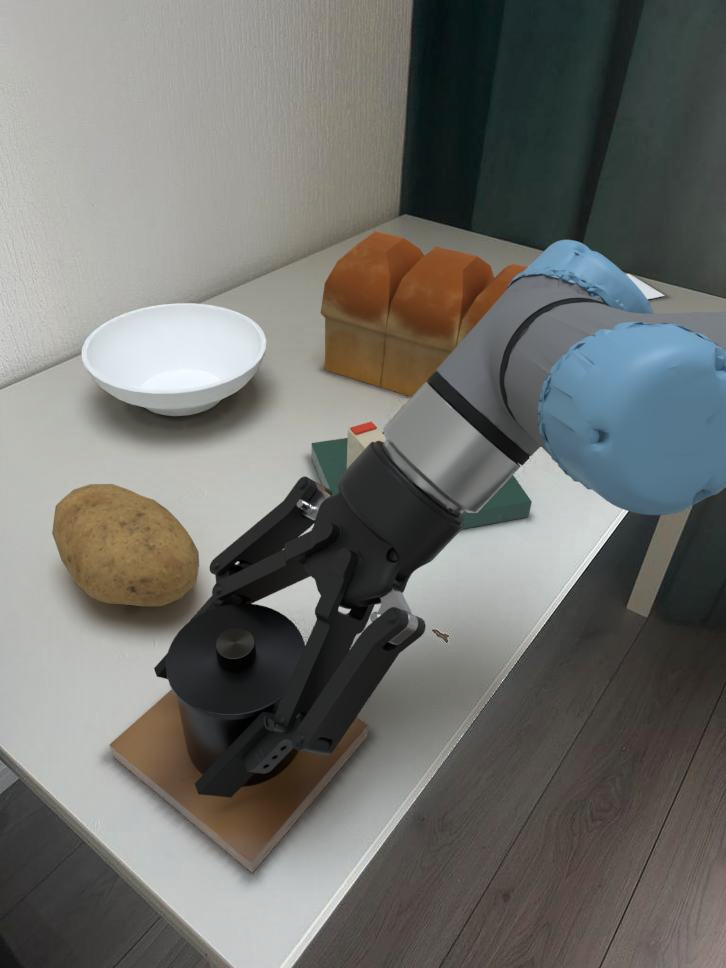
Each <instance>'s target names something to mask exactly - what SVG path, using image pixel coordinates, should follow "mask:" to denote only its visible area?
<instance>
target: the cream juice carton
mask: <svg viewBox="0 0 726 968" xmlns="http://www.w3.org/2000/svg"><path fill="white" fill-rule="evenodd" d="M383 433H384V432H382V431H381V430H380V429H379V428H378V426H377V425H376V424H375V423H374V422H373V421H368V422H363V423H361V424H357V425H355V426H351V427H350V428H348V429H347V438H348V442H347V468H348V467H349V466H350V465H351V464H352V463H353V462H354V461H355V459H356V458H357V457H358V456H359V455H360V454H361V453H362V452H363V451H364V449H365V448H366V447H367V446H368V445H369V444H370V443H371V442H376V441H382V442H385V441H386V438H385V436H384V434H383Z"/></svg>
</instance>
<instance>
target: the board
mask: <svg viewBox="0 0 726 968" xmlns="http://www.w3.org/2000/svg"><path fill="white" fill-rule="evenodd" d="M368 727H369V725H368V724H367V723H366V722H364V721H362V720H361V719H360V718H358V716H357V717H356V718H355V720H354V721H353V723H352V724H351V726H350V727H349V729H348V730H347V732H346V733H345V735H344V736H343V738H342V739H341V741H340V742H339V743H338V745H337V746H336V748H335V749H334V751H333V752H332V753H331V754H330V755H322V754H316V753H310V752H304V751H298V753H297V755H296V756H295V758H294V759H293V761H292V762H291V763H290V764H289V765H288V767H287V768H285V769H284V770H283V771H282V772H281V773H279V774H278V775H276V776H275V777H273V778H271V779H269V780H268V781H265V782H262V783H260V784H256V785H252V786H244V787H241V788H240V789H239V790H238V791H237V792H236V793H235V794H234V795H233V796H232V797H231V798H230V797H220V796H210V795H200V794H198V792H197V789H196V786H195V783H196V782H197V781H198V779H199V778H200V777H201V776H202V775H203V774H202V773H201V772H200V771H199V770H198V769H197V768H196V767H195V766H194V764H193V763H192V761H191V759H190V757H189V754H188V750H187V746H186V741H185V736H184V731H183V726H182V721H181V716H180V711H179V706H178V701H177V697H176V695H175V694H174V692H173V691H172V689H170V690H169V691H168V692H166V694H164V696H163V697H161V698H159V700H158V701H157V702H156V703H154V704H153V705H152V706H151V707H150V708H149V709H148V710H146V711H145V712H144V713H143V714H142V715H141V716H140V717H138V718H137V719H136V720H135V721H134V722H133V723H132V724H131V725H130V726H129V727H127V728H125V730H124V731H123V732H121V734H119V735H118V736H117V737H116V738H115V739H114V740H112V742H110V743H109V748H110V751H111V754H112V757H113V758H114V759H115V760H117V762H119V763H120V764H121V765H122V766H123V767H125V768H126V769H127V770H129V771H130V772H131V773H132V774H133V775H134V776H136V778H138V779H139V780H140V781H141V782H142V783H144V784H145V785H146V786H147V787H149V788H150V789H151V790H152V791H153V792H155V793H156V794H157V795H158V796H160V798H161V799H163V800H164V801H165V802H166V803H167V804H169V805H170V806H171V807H173V808H174V809H175V811H177V812H178V813H179V814H181V815H182V816H183V817H184V818H186V819H187V820H188V821H189V822H190V823H191V824H192V825H194V826H195V827H196V828H197V829H199V831H201V832H202V833H203V834H204V835H206V836H207V837H208V838H210V839H211V840H212V841H213V842H214V843H215V844H216V845H218V846H219V847H220V848H221V849H223V850H224V851H225V852H226V853H227V854H229V856H231V857H232V858H233V859H234V860H236V861H237V863H240V865H242V866H243V868H245V869H246V870H248V871H249V872H250V873H251V874H254V873H255V871H256V870H257V869H258V868H259V866H260V865H261V864H262V863H263V861H264V860H265V859H266V858H267V857H268V856H269V854H270V853H271V852H272V851H273V850H274V848H275V847H276V846H277V845H278V844H279V842H280V841H281V840H282V839H283V838H284V837H285V835H286V834H287V833H288V832H289V830H290V829H291V828H293V826H294V825H295V823H296V822H297V821H298V820H299V818H300V817H301V816H302V815H303V814H304V813H305V812H306V810H307V809H308V808H310V805H311V804H313V802H314V801H315V800H316V799H317V797H318V796H319V795H320V794H321V792H322V791H323V790H324V789H325V788H326V786H328V784H329V783H330V782H331V781H332V779H333V778H334V777H335V776H336V774H337V773H338V772H339V771H340V770H341V769H342V767H343V766H344V765H345V764H346V763H347V761H348V760H349V759H350V757H352V756H353V754H354V753H355V752H356V750H357V749H358V748H359V747H360V746H361V745H362V744H363V742H364V741H366V739H367V737H368Z"/></svg>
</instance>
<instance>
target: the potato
mask: <svg viewBox="0 0 726 968" xmlns="http://www.w3.org/2000/svg"><path fill="white" fill-rule="evenodd" d="M51 534H52V537H53V540H54V542H55V545H56V548H57V551H58V555H59V558H60V560H61V562H62V564H63V566H64V567H65V568H66V570H67V571H68V573H69V574H70V576H71V577H72V579H73V580H74V582H75V583H76V584H77V586H78V587H79V588H81V590H83V591H84V592H85V594H87V595H88V596H89V597H90V598H91V599H93V600H96V601H99V602H102V603H104V604H111V605H112V604H113V605H128V606H137V607H164V606H166V605H169V604H171V603H173V602H175V601H178V600H179V599H182V598H183V597H184V596H185V595H186V594H187V593H188V592H189V591H190V590H191V589H192V588H193V587H194V586H195V585H196V584H197V581H198V576H199V568H200V555H199V554H200V553H199V550H198V548H197V546H196V545H195V543H194V541H193V540H194V539H193V538H192V537H191V535H190V534H189V532H188V531H187V529H186V528H185V527H184V525H183V524H182V523H181V522H180V520H178V518H177V517H176V516H175V515H174V514H173V513H172V512H171V511H170V510H169V509H167V508H166V507H165V506H163V505H161V503H160V502H158V501H156V500H155V499H152V498H150V497H147V496H143V495H141V494H139V493H136V492H135V491H133V490H131V489H128V488H125V487H123V486H119V485H117V484H114V483H93V484H91V483H90V484H87V485H84V486H81V487H78V488H75V489H73V490H71V491H70V492H69V493H68V494H67V495H65V496H64V497H63V498H62V499H61V500H60V501H58V503H57V504H56V505H55V508H54V514H53V523H52V532H51Z"/></svg>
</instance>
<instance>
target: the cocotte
mask: <svg viewBox="0 0 726 968" xmlns="http://www.w3.org/2000/svg"><path fill="white" fill-rule="evenodd" d="M191 619H192V618H191ZM191 619H190V620H191ZM190 620H189V621H188V622H187V623H186V624H184V626H183V627H182V628H181V629H180V630H179V631H178V632H177V634H176V635H175V636H174V638H173V639H172V642H171V644H170V645H169V648H168V651H167V653H168V654H167V653H166V654H167V658H166V672H167V677H168V679H167V682H168V684H169V687H170V690H172V691H173V692H174V694H175V695H176V697H177V701H178V706H179V711H180V716H181V721H182V726H183V731H184V736H185V741H186V746H187V750H188V754H189V757H190V759H191V761H192V763H193V764H194V766H195V767H196V768H197V769H198V770H199V771H200V772H201V773H202V774H204V773H205V772H206V771H207V770H208V769H209V768H210V767H211V766H212V765H213V764H214V762H215V761H216V760H217V759H218V758H219V757H220V756H221V755H222V754H223V753H224V752H225V751H226V750H227V749H228V748H229V747H230V746H231V744H232V743H233V742H234V741H235V740H236V739H237V738H238V737H239V736H240V735H241V734H242V733H243V732H244V731H245V730H246V729H247V728H248V726H249V725H250V724H251V723H252V722H253V721H254V720H255V719H256V718H257V717H258V716H259V715H260V714H261V713H262V712H269V713H273V714H276V712H277V709H278V707H279V705H280V702H281V700H282V698H283V696H284V693H285V691H286V689H287V686H288V684H289V682H290V680H291V677H292V675H293V673H294V671H295V668H296V666H297V664H298V661H299V659H300V657H301V655H302V652H303V650H304V648H305V645H306V643H305V640H304V637H303V635H302V633H301V631H300V630H299V628H298V627H297V626H296V624H295V623H294V622H293V621H292V620H291V619H290V618H288V617H287V616H286V615H285V614H283V613H281V612H280V611H278V610H276V609H274V608H271V607H269V606H265V605H262V604H261V605H260V604H255V603H252V604H247V603H239V604H229V605H224V606H220V607H216V608H213V609H211V610H208V611H206V612H204V613H202V614H200V615H198V616H197V617H195V618H194V619H192V620H191V621H190ZM299 715H300V713H299ZM298 751H299V750H296V749H295V748H293V749H292V750H291V751H290V752H289V753H288V754H287V755H286V756H285V757H284V758H283V759H282V760H281V761H280V762H279V763H278V764H277V765H276V766H275V767H274V768H273V769H272V770H271V771H270V772H268V773H265V774H261V773H254V774H253V776H252V777H251V778H250V779H249V780H248V781H247V782H246V783H245V784H244V785H243V786H242V787H244V786H252V785H256V784H260V783H262V782H265V781H268V780H269V779H271V778H273V777H275V776H276V775H278V774H279V773H281V772H282V771H283V770H284V769H285V768H287V767H288V765H289V764H290V763H291V762H292V761H293V759H294V758H295V756H296V755H297V753H298Z"/></svg>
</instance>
